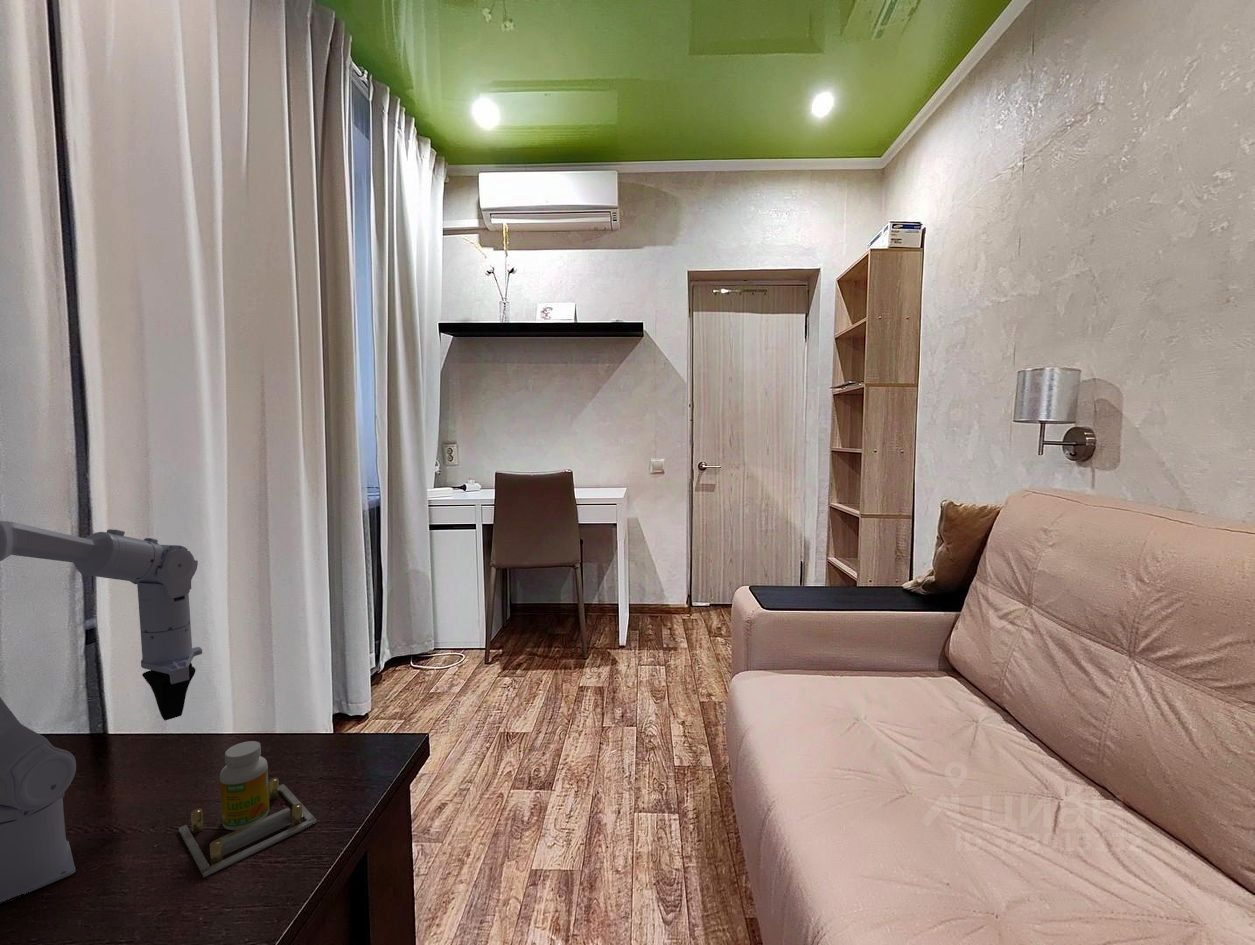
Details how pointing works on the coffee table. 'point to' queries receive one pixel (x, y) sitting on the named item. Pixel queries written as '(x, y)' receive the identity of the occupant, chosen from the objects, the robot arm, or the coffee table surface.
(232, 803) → the supplement bottle
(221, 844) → the frame
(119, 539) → the robot arm
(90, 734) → the coffee table surface
